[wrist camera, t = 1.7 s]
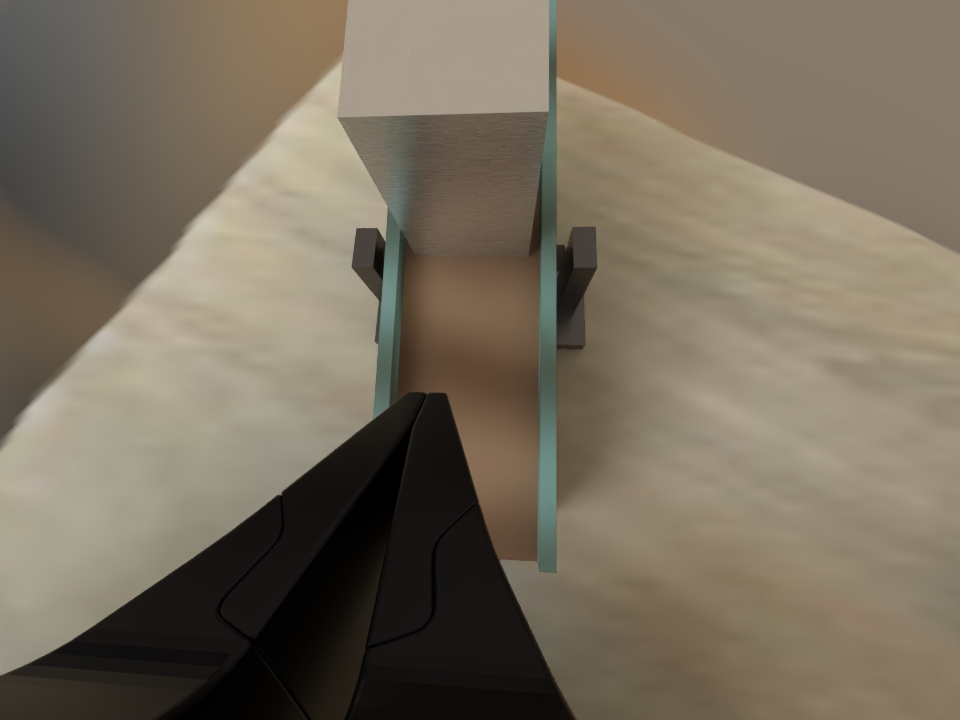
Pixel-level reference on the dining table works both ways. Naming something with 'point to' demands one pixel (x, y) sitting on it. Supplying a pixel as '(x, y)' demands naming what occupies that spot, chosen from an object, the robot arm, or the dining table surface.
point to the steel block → (450, 117)
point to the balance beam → (487, 359)
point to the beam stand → (568, 281)
